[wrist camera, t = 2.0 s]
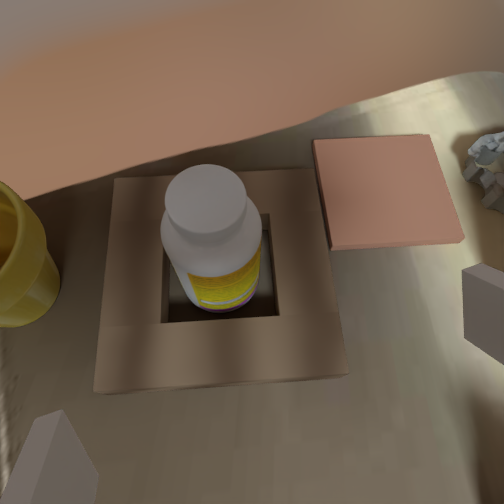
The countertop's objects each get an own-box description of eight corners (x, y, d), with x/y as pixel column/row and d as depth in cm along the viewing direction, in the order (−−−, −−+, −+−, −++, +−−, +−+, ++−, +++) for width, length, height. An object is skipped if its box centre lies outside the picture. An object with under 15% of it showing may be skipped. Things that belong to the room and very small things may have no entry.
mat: (330, 250, 34) (332, 245, 33) (312, 146, 39) (313, 139, 38) (459, 242, 34) (464, 238, 33) (424, 141, 39) (429, 134, 38)
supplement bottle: (274, 279, 33) (289, 198, 21) (218, 331, 31) (200, 275, 19) (223, 230, 35) (210, 132, 23) (167, 276, 33) (122, 195, 21)
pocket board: (107, 395, 29) (92, 391, 26) (124, 196, 36) (114, 178, 33) (339, 378, 29) (349, 373, 27) (309, 186, 37) (314, 168, 34)
